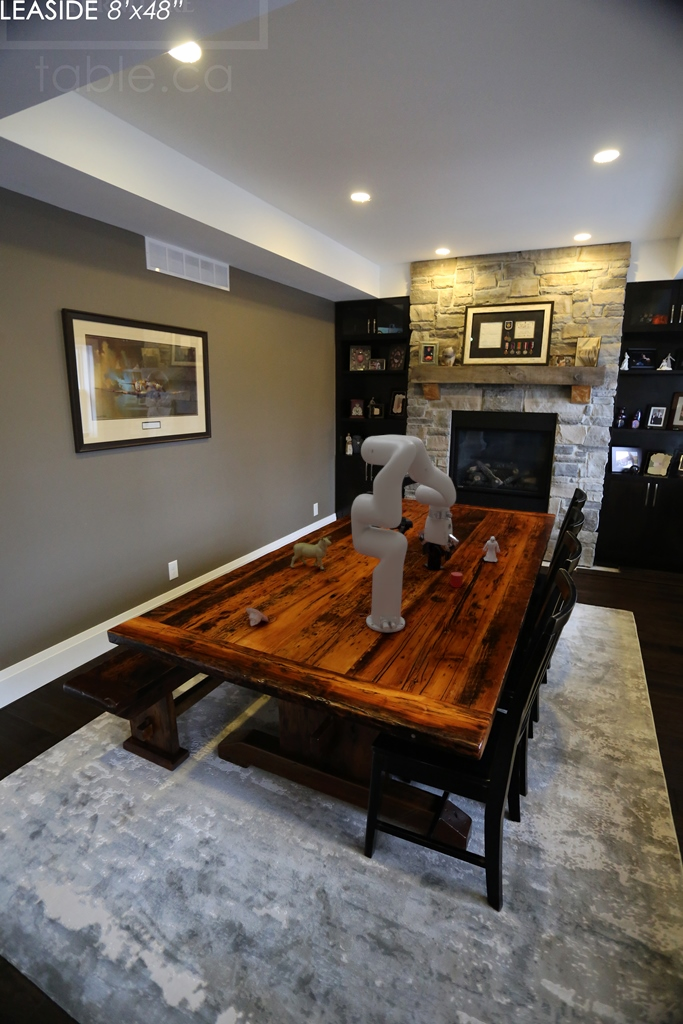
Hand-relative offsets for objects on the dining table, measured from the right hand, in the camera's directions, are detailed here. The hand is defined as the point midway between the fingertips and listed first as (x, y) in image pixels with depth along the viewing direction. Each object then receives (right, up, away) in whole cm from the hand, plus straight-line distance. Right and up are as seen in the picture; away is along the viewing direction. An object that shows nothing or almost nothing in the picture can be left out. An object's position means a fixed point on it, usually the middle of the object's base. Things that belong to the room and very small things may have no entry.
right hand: (388, 544), depth 206 cm
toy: (-32, -11, +5) cm, 34 cm away
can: (+25, -15, -10) cm, 31 cm away
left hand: (+17, -4, -15) cm, 23 cm away
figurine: (+48, -9, +19) cm, 52 cm away
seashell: (-47, -23, -45) cm, 69 cm away
